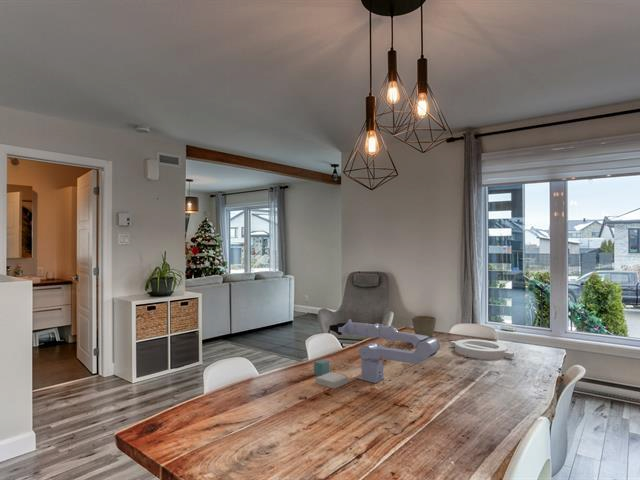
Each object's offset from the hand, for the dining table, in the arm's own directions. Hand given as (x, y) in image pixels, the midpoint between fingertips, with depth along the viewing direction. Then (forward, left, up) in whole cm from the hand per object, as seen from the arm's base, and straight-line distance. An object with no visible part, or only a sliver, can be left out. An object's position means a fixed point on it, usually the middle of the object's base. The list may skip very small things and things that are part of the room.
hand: (334, 326), depth 192 cm
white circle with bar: (-43, -83, -22) cm, 96 cm away
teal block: (0, +9, -21) cm, 23 cm away
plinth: (-11, +15, -21) cm, 28 cm away
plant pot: (-8, -83, -21) cm, 86 cm away
